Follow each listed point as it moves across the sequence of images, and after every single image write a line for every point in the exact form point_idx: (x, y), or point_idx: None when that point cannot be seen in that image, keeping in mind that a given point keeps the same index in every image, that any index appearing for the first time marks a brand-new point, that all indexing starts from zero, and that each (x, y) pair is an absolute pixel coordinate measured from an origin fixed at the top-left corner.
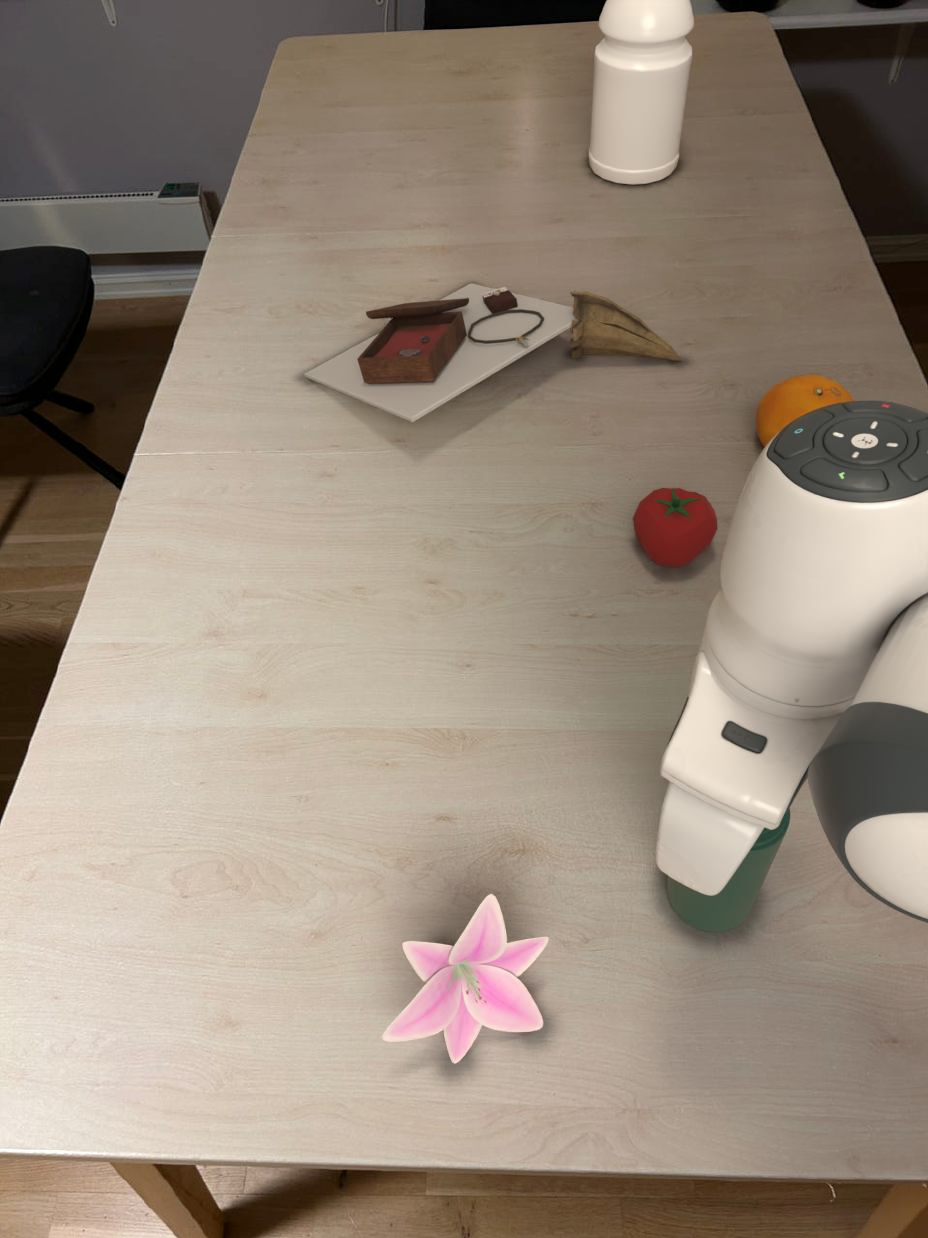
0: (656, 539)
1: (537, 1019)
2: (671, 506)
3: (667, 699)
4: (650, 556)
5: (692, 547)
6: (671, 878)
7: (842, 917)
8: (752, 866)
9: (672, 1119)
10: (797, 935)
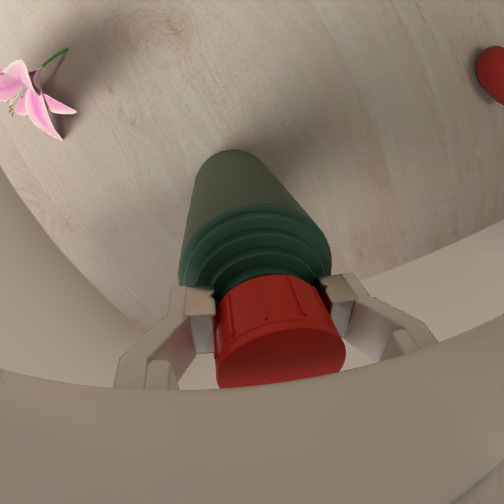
0: (496, 63)
1: (58, 136)
2: None
3: (388, 89)
4: (480, 59)
5: (498, 91)
6: (209, 164)
7: None
8: None
9: (78, 241)
10: None
